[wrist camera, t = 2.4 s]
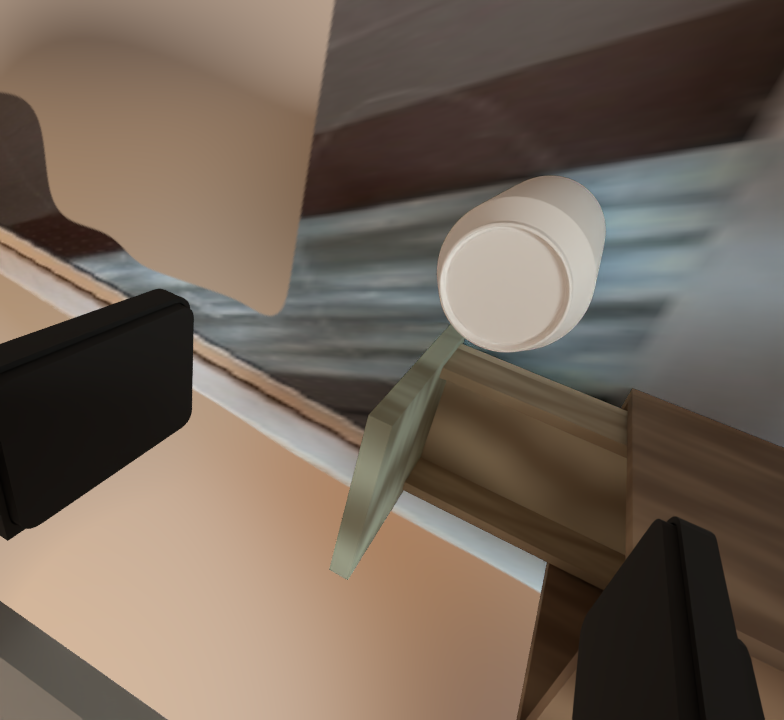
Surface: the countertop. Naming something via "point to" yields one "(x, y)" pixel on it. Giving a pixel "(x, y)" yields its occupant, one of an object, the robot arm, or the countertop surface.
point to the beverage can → (523, 265)
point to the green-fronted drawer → (495, 461)
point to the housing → (698, 506)
